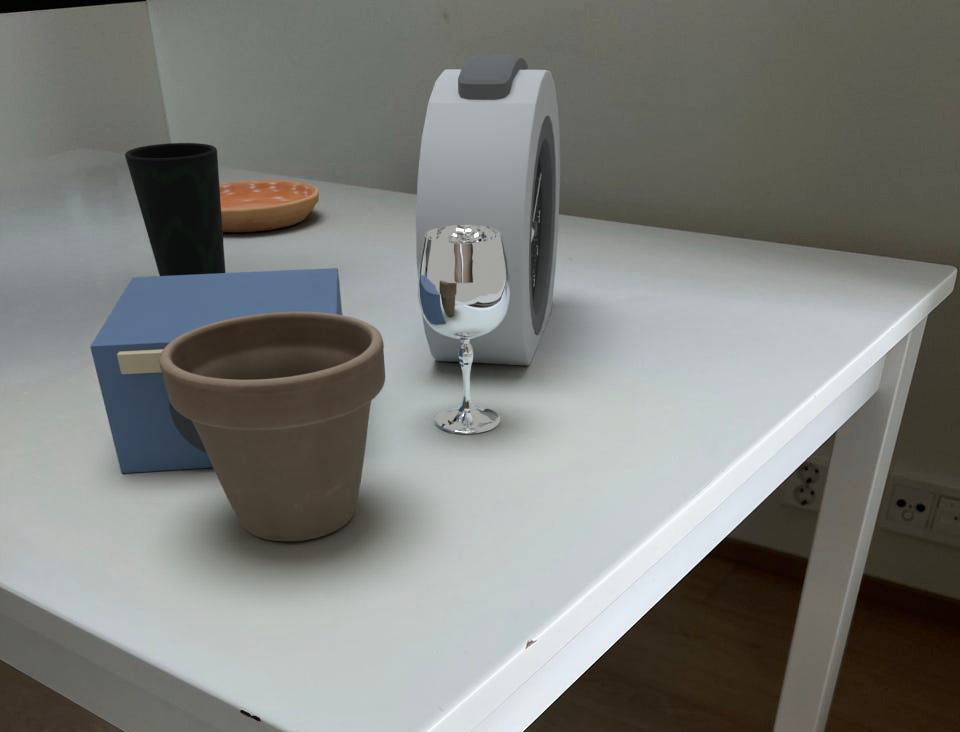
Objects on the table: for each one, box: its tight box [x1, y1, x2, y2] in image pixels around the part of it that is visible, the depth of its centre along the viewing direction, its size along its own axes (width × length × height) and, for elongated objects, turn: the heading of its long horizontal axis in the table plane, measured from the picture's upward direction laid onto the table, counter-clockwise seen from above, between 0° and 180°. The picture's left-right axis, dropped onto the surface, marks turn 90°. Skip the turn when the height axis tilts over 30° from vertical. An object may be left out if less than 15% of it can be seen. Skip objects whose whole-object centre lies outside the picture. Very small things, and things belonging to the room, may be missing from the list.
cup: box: [124, 142, 226, 276], centre depth 89 cm, size 8×8×12 cm
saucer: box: [219, 179, 320, 233], centre depth 114 cm, size 16×16×3 cm
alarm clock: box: [415, 53, 561, 366], centre depth 76 cm, size 21×8×20 cm, turn 170°
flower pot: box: [159, 312, 386, 542], centre depth 54 cm, size 12×11×10 cm
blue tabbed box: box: [89, 267, 343, 474], centre depth 65 cm, size 14×14×8 cm
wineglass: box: [417, 225, 510, 435], centre depth 64 cm, size 6×6×12 cm
